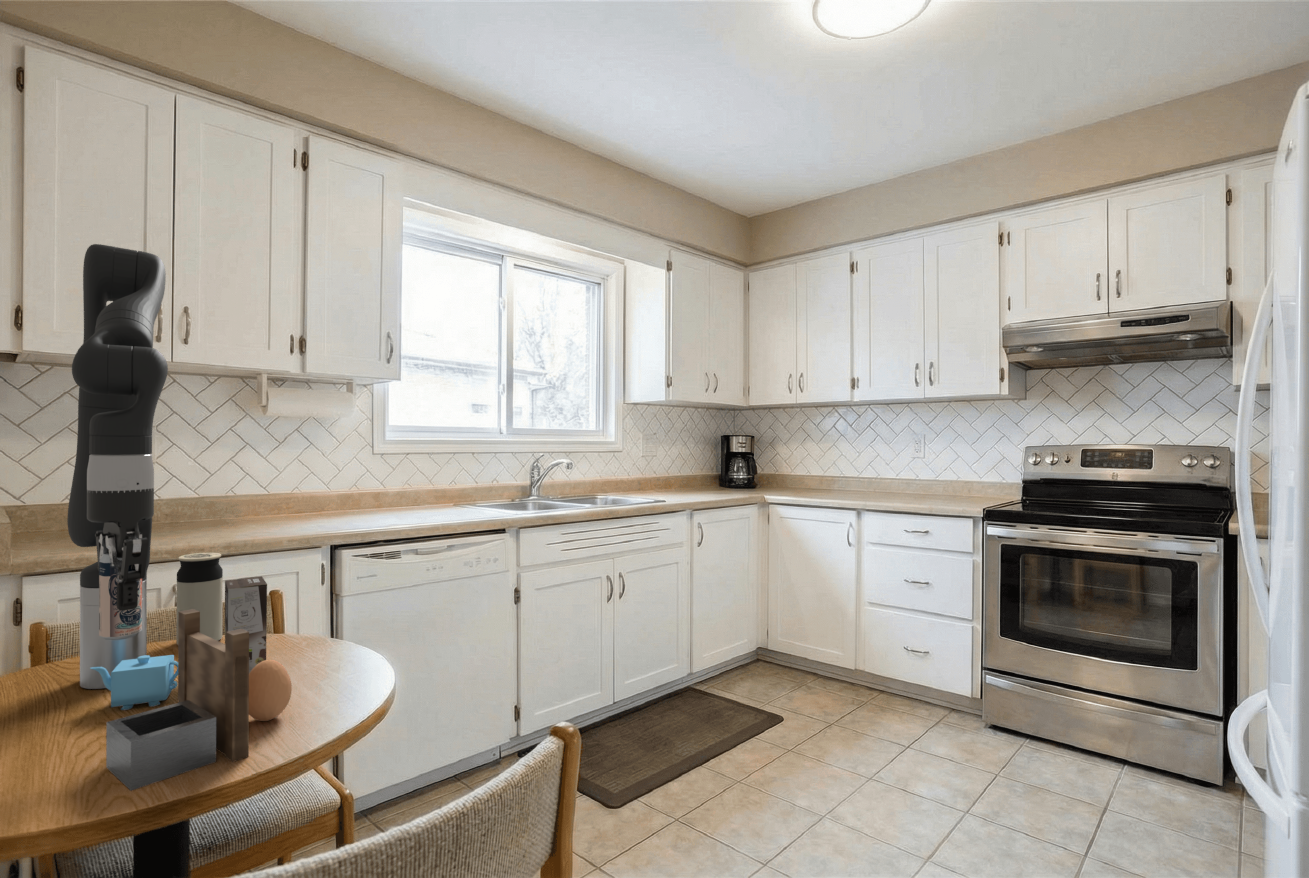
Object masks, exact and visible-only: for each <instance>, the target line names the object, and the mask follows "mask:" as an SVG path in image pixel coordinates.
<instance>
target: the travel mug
mask: <svg viewBox="0 0 1309 878" xmlns="http://www.w3.org/2000/svg"><path fill="white" fill-rule="evenodd" d="M221 557H222V554H221V553H219V552H198V553H197V552H196V553H190V554H189V553H188V554H184V555H180V556H178V561H179V564H180V567H179V569H178V570H177V573H176V645H178V612H180V611H185V610H191V609H195V610H197V611H200V633H201V634H204V635H206V636H208V637H210V638H212V639H215V640H217V641H220V640H221V639H223V585H224V584H223V579H224V578H223V577H224V576H223V572H224V571H223V568H222V566H221V564H220V559H221Z"/></svg>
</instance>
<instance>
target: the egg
mask: <svg viewBox="0 0 1309 878" xmlns="http://www.w3.org/2000/svg"><path fill="white" fill-rule="evenodd" d="M291 680H292V679H291V676H290V675H289V673H288V671H287V669H286V667H285V666H284V665H283V664H282V663H280V662H279V661H277V660H274V659H266V660H264V661H262V662H260V663H258V664H257V665H256V666H255V667H254V668H253V669H252V670H251V672H250V673H249V716H250V717H251V718H252V719H254V720H256V721H261V722H267V721H271V720H273V719H275V718H277V717H278V716H280V715H281V714H282V713H283V712H284V710H285V709H286V707H287V706H288V705H289V702H290V700H291V697H292V696H291V695H292V689H293V687H292V686H293V685H292V681H291Z"/></svg>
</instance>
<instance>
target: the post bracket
mask: <svg viewBox="0 0 1309 878" xmlns="http://www.w3.org/2000/svg"><path fill="white" fill-rule="evenodd" d="M105 732H106V742H105V743H106V752H105V756H106V761H105V762H106V764H105V765H106V766H105V767H106V769H107V770H108V771H109V772H110V773H111V774H113V775H114V777H115V778H116V779H118V780H119V781H120V782H121V783H122V784H123V785H124V786H125V787H126V788H127V789H128V790H129V791H131V792H132V791H134V790H137V789H140V788H143V787H146V786H149V785H152V784H154V783H158V782H160V781H164V780H166V779H170V778H172V777H175V776H178V775H181V774H184V773H187V772H191V771H193V770H196V769H200V768H201V767H204V766H207V765H211V764H214V763H216V762H217V749H216V717H215V716H214V715H212V714H210V713H209V712H207V711H206V710H204V709H202V708H201V707H199V706H198V705H196V704H194V703H193V702H191V701H189V700H187V701H183V702H179V703H178V702H177V703H172V704H169V705H165V706H161V707H158V708H157V707H156V708H153V709H150V710H146V711H143V712H138V713H134V714H132V715H127V716H125V717H121V718H116V719H113V720H108V721H106V731H105Z"/></svg>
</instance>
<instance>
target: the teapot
mask: <svg viewBox="0 0 1309 878" xmlns="http://www.w3.org/2000/svg"><path fill="white" fill-rule="evenodd" d="M175 667H176V671H175ZM90 669H93V670H96V671H98V672H99V673H100V675H101V677H102V679H103V682H104V685H105V686H106V688H105V689H107V690H108V691H110V708H115V707H116V708H117V707H121V708H120V710H121V711H128V710H131V709H133V707H134V705H139V704H146V703H147V704H148V707H156V706H159V705H161V702H162V701H166V700H168V697H169V696H170V694H171V693H172V691H173V690H175V689H176V688H178V681H177V680H175V679H176V678H178V660H177V661H176V660H175V655H174V654H169V655H158V656H151V655H147V654H146V655H144V656H140V657H138V658H137V659H130V660H122V661H121V662H120V663H119V664H118V665H117V667H116V668H115V669H114V670H113V671H112V672H111V676H110V675H109V673H108V671H107V670H106V669H105V668H104V667H92V668H90Z"/></svg>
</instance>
